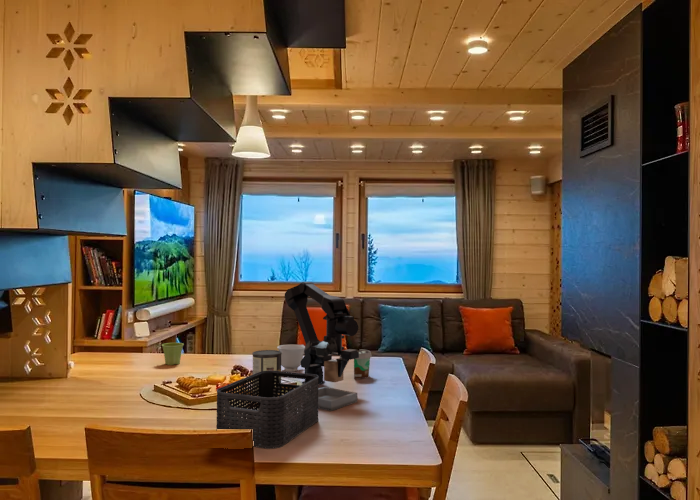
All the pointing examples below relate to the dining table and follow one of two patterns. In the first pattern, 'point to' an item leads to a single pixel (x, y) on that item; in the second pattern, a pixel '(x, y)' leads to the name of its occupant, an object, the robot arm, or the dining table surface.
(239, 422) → the storage bin
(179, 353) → the plant pot
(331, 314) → the robot arm
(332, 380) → the walnut block
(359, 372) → the food container
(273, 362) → the coffee can
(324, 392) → the serving tray
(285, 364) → the teacup
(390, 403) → the dining table surface
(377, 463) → the dining table surface
